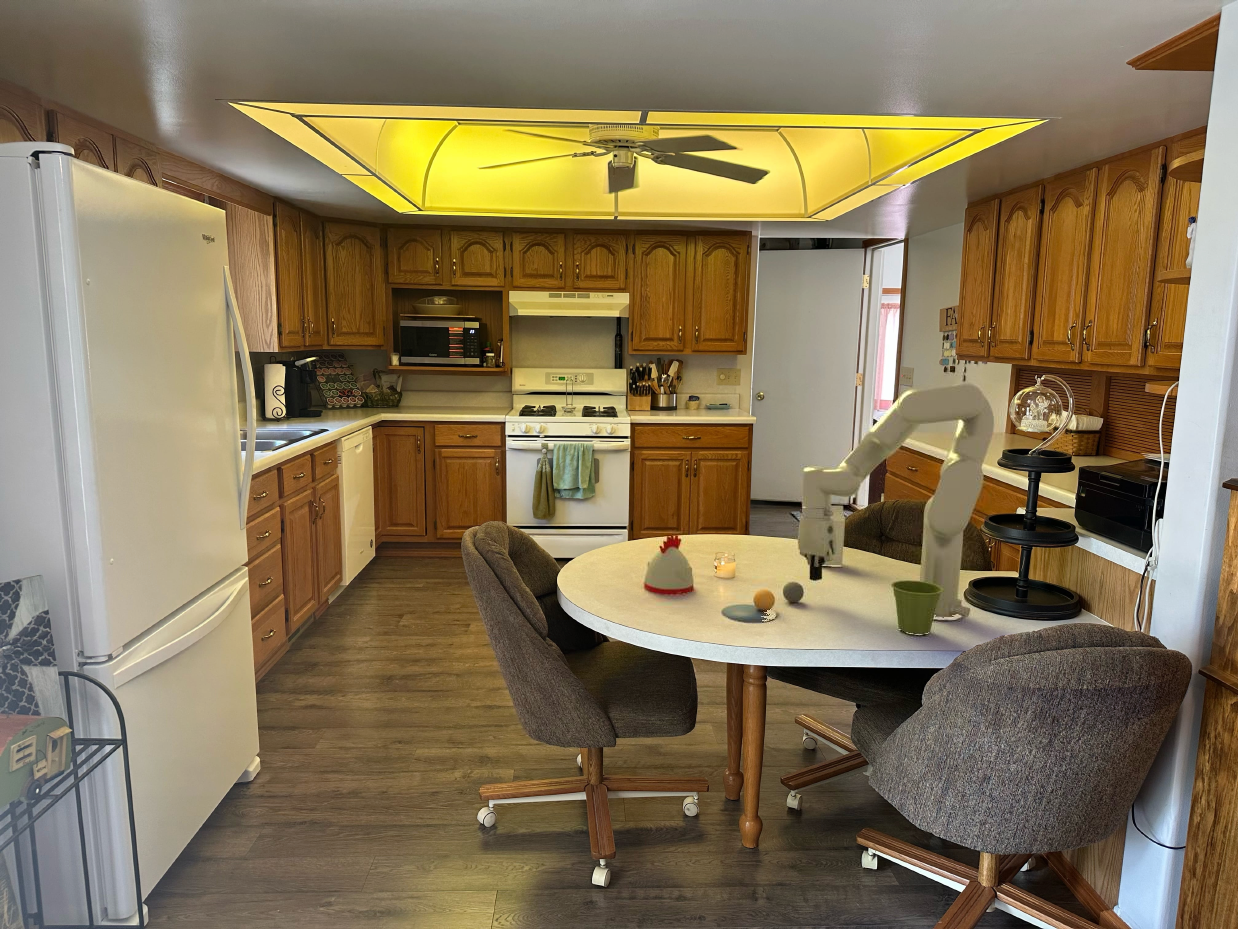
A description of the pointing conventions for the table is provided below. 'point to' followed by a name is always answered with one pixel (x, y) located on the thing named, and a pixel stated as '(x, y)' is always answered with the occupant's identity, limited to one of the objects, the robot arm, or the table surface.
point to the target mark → (744, 613)
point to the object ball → (764, 600)
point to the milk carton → (838, 534)
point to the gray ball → (793, 592)
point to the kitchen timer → (669, 570)
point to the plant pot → (915, 605)
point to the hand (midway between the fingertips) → (815, 579)
